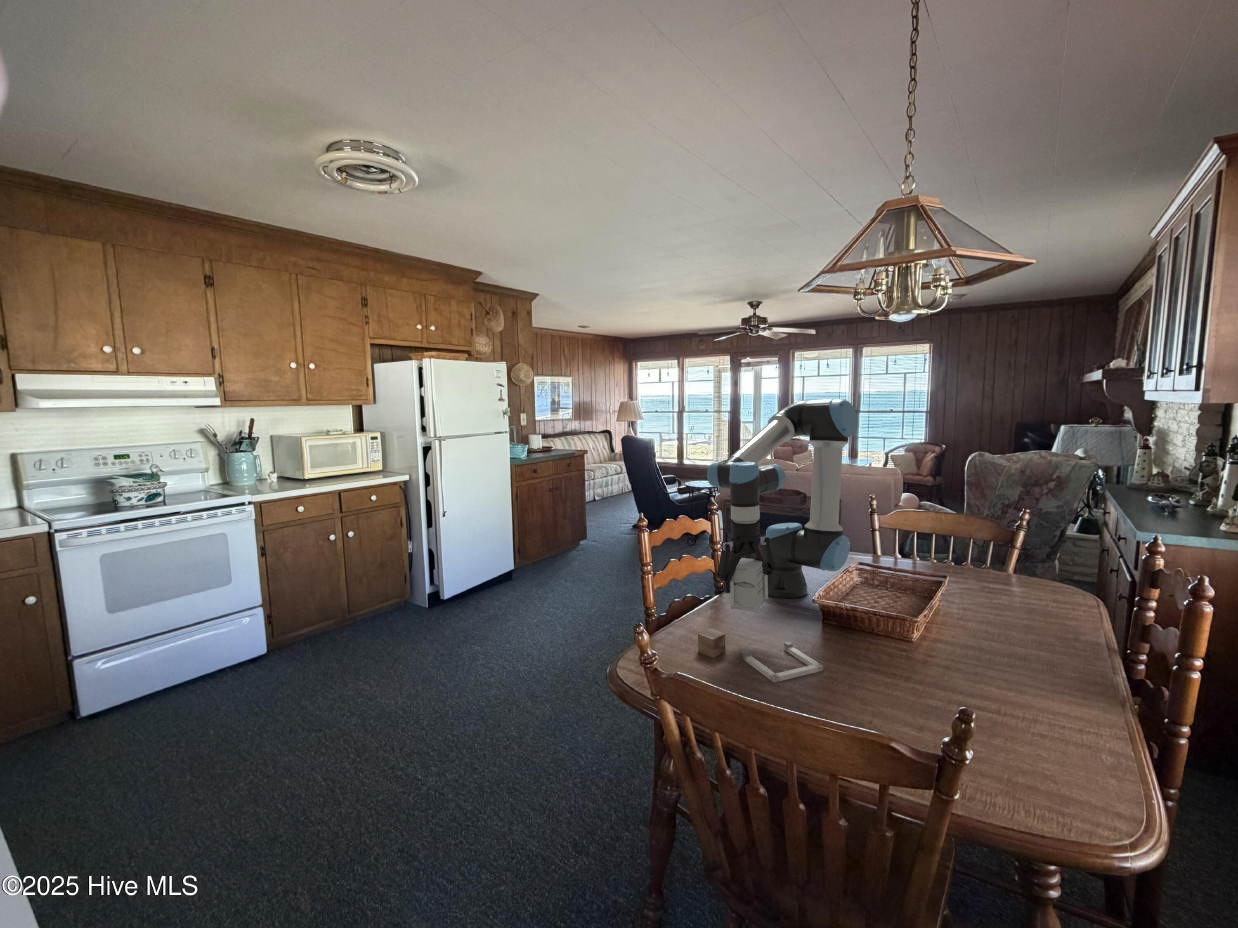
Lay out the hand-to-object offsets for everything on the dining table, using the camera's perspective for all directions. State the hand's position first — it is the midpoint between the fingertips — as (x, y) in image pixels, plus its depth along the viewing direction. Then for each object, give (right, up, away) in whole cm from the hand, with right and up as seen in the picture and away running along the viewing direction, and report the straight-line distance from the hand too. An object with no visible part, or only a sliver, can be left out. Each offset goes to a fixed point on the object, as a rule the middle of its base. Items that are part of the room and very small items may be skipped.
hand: (747, 600), depth 150 cm
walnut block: (-11, -12, -5) cm, 17 cm away
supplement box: (0, -2, 0) cm, 2 cm away
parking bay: (+5, -13, -13) cm, 19 cm away
